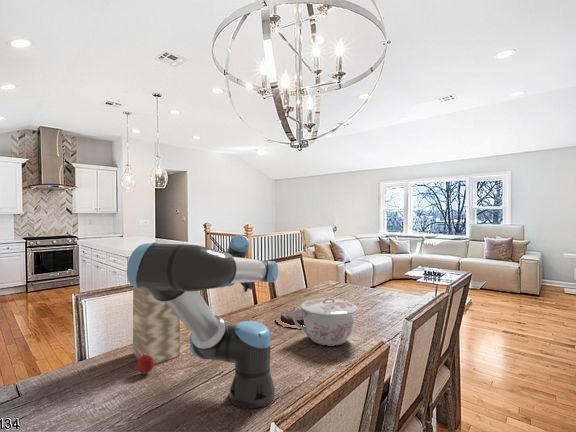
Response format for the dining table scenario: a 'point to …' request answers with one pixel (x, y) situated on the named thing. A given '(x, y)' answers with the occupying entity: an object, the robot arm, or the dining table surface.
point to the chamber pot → (327, 320)
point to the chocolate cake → (287, 317)
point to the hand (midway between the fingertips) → (228, 290)
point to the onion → (145, 364)
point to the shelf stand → (154, 327)
